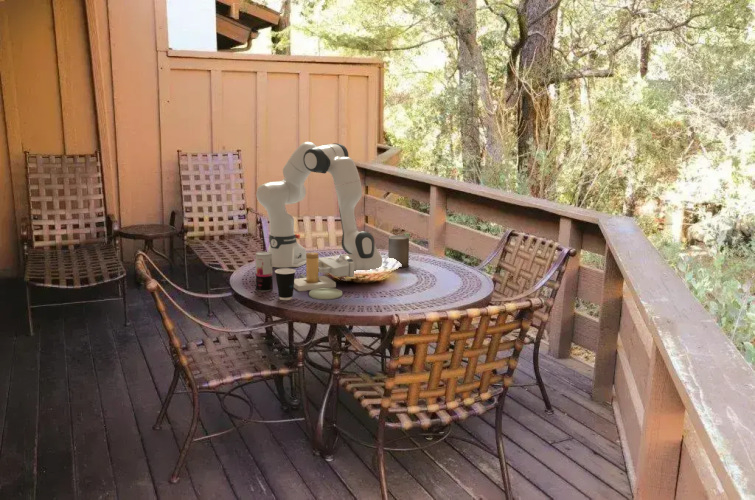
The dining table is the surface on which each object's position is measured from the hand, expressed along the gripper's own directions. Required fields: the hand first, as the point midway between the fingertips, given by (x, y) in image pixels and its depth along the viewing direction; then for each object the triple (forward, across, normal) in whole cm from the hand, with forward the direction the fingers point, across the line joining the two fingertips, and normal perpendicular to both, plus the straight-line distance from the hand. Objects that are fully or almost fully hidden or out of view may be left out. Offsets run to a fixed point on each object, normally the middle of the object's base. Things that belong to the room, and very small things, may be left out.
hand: (314, 267), depth 275 cm
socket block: (+1, -4, +7) cm, 8 cm away
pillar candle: (-49, -19, +8) cm, 53 cm away
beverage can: (+21, -1, +8) cm, 22 cm away
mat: (+1, +15, +7) cm, 17 cm away
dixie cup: (+17, +14, +8) cm, 23 cm away
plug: (+1, 0, +7) cm, 7 cm away
